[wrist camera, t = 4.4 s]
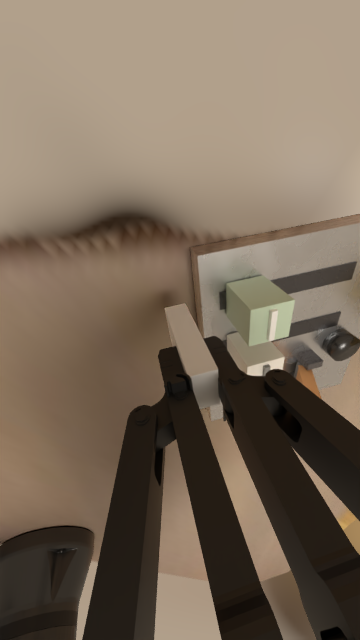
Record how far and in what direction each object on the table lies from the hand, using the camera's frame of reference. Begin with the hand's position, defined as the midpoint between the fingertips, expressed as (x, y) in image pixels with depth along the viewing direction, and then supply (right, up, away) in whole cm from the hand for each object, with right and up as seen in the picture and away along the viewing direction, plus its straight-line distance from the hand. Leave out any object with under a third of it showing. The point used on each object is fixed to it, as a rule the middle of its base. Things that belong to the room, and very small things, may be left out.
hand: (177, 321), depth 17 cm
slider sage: (+5, +2, +2) cm, 6 cm away
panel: (+10, -1, +8) cm, 13 cm away
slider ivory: (+6, -2, +5) cm, 8 cm away
